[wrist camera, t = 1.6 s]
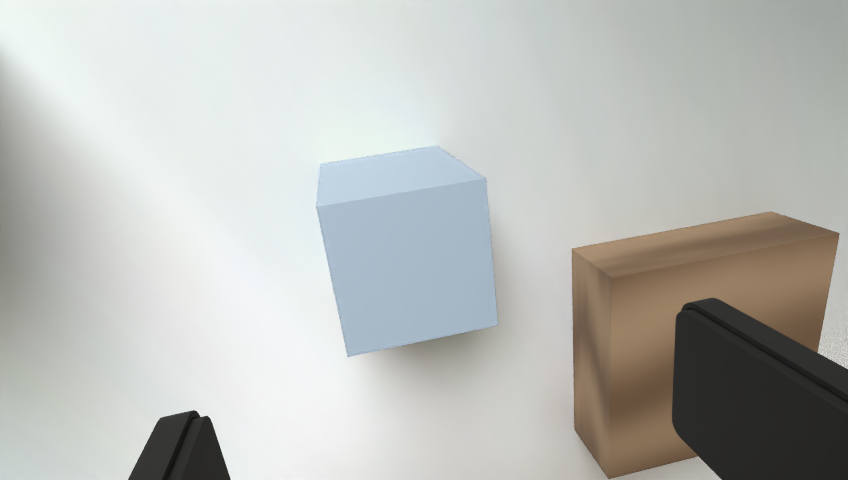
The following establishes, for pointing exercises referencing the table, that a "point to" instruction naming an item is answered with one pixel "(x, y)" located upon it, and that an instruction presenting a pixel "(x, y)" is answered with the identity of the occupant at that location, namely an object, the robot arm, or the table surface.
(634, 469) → the walnut block
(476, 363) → the table surface
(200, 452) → the robot arm
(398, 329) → the slate block
